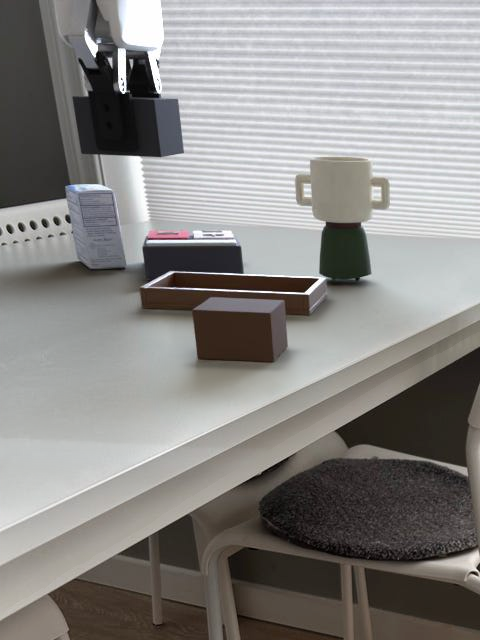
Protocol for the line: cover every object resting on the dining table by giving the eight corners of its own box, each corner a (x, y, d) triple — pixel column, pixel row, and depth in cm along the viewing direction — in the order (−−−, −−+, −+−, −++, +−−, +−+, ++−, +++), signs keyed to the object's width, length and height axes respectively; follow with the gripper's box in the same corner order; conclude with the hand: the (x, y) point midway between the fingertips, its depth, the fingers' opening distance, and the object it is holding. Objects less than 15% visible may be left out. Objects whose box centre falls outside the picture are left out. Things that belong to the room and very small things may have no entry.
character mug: (395, 277, 116) (394, 158, 109) (385, 288, 110) (383, 162, 103) (307, 273, 116) (301, 154, 110) (293, 283, 110) (285, 158, 104)
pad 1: (81, 153, 76) (71, 96, 73) (108, 150, 80) (100, 95, 78) (161, 157, 75) (154, 99, 73) (184, 153, 80) (178, 98, 78)
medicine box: (127, 268, 115) (115, 190, 111) (89, 270, 113) (75, 190, 109) (113, 258, 121) (101, 183, 117) (76, 260, 119) (63, 184, 115)
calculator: (234, 228, 122) (240, 238, 109) (237, 264, 124) (244, 278, 111) (144, 228, 119) (140, 239, 106) (149, 265, 121) (146, 280, 108)
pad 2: (197, 359, 80) (191, 309, 78) (215, 343, 85) (210, 296, 83) (273, 362, 80) (270, 313, 78) (287, 346, 84) (284, 299, 82)
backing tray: (141, 308, 96) (139, 287, 95) (172, 290, 105) (169, 271, 104) (310, 315, 96) (308, 294, 95) (327, 296, 104) (326, 277, 103)
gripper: (93, -113, 76) (128, 141, 85) (-18, -161, 61) (39, 153, 70) (185, -110, 76) (210, 145, 85) (96, -158, 61) (138, 157, 70)
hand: (132, 146), depth 78 cm, fingers closed on pad 1, 5 cm apart
